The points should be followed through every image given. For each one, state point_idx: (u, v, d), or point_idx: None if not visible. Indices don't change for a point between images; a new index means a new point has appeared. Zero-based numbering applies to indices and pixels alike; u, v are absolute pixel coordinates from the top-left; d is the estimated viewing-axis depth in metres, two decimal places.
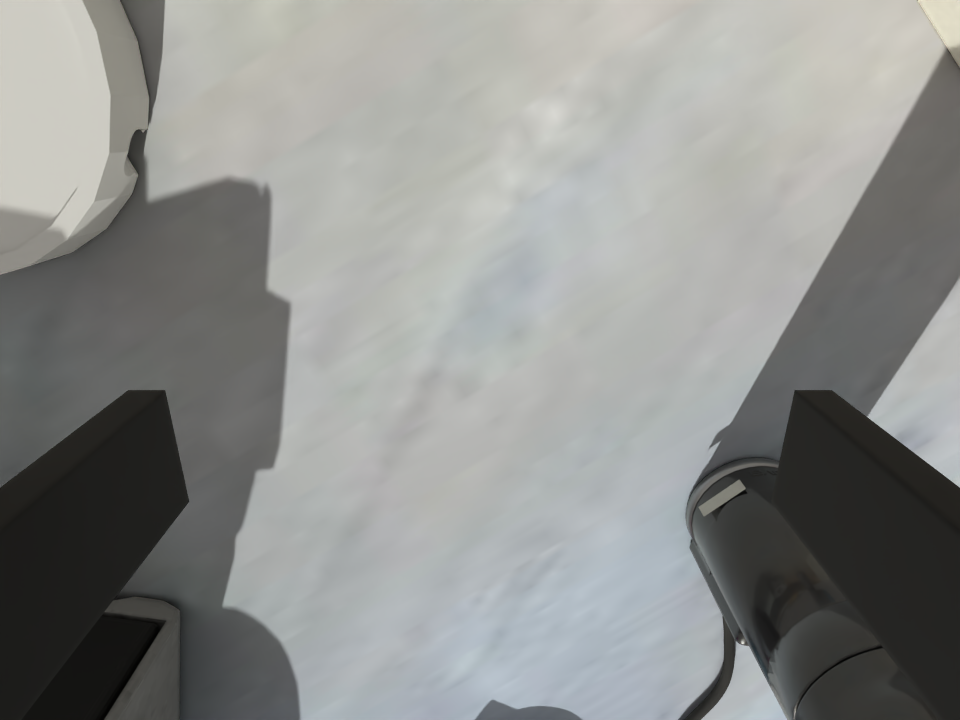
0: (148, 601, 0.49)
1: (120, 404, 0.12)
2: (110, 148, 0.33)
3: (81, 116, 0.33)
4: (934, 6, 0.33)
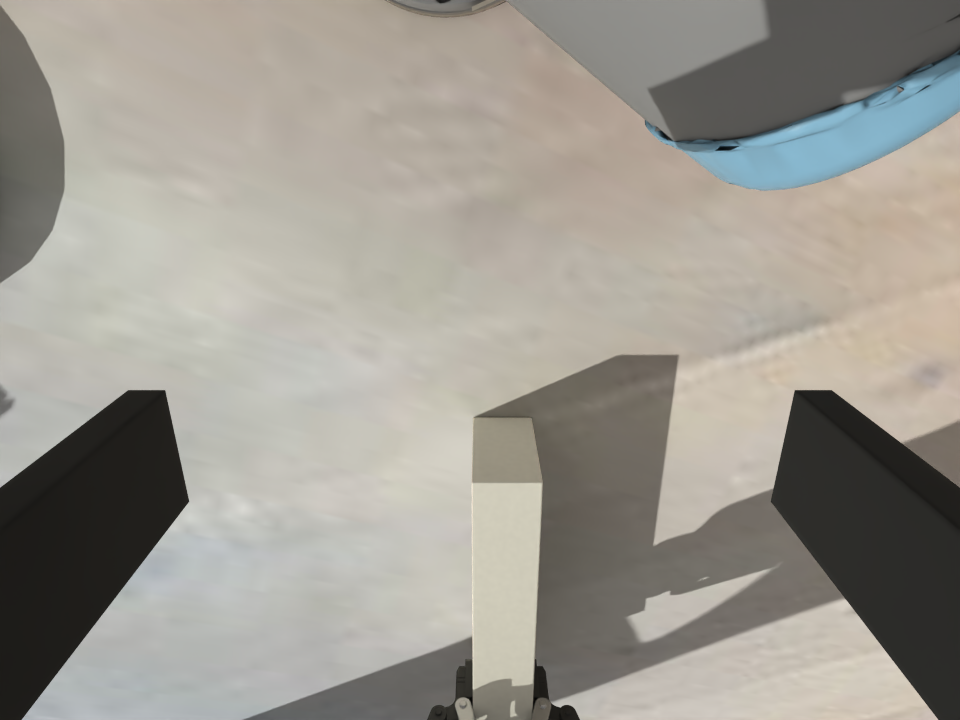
0: None
1: (119, 404, 0.12)
2: None
3: None
4: None
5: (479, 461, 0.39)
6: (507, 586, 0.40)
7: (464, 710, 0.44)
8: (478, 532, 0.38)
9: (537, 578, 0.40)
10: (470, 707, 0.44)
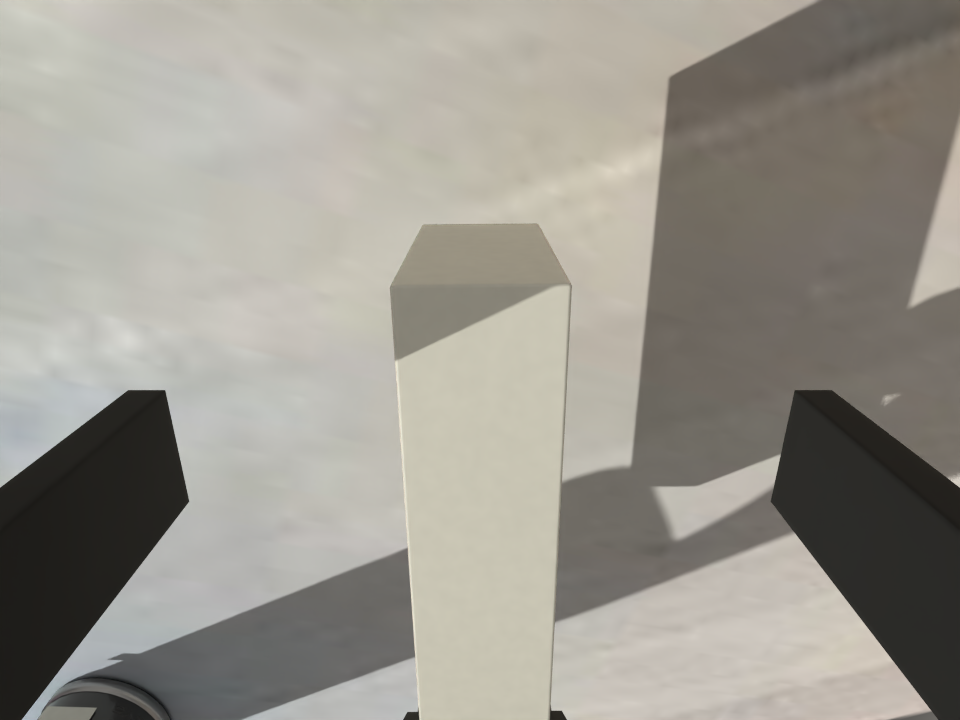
0: None
1: (119, 404, 0.12)
2: None
3: None
4: None
5: (419, 261, 0.17)
6: (487, 554, 0.17)
7: None
8: (414, 423, 0.16)
9: (556, 535, 0.17)
10: None
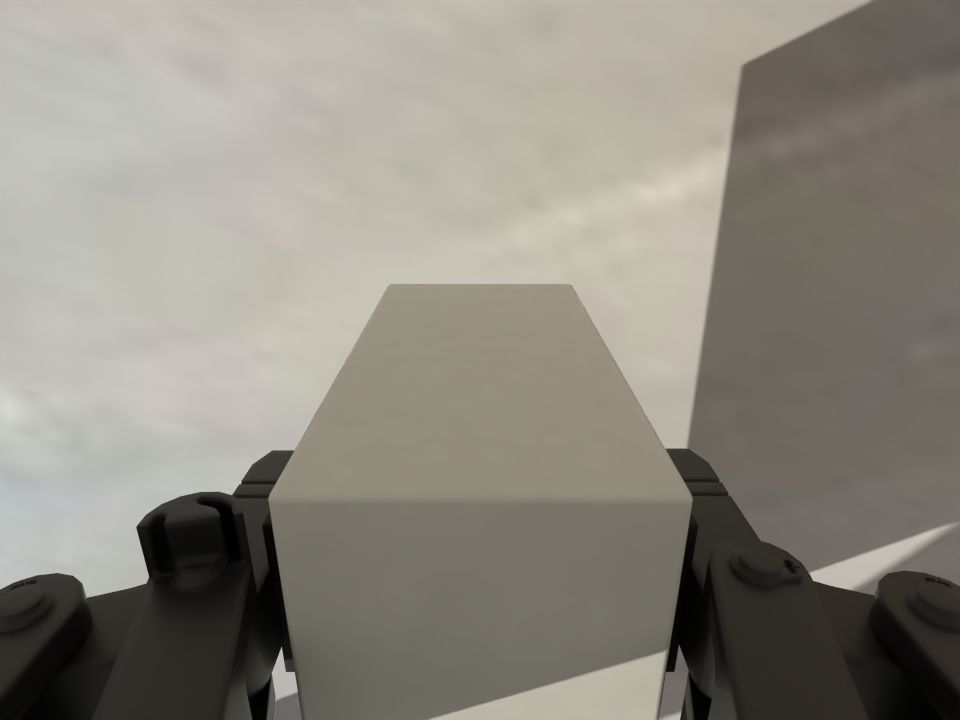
0: None
1: None
2: None
3: None
4: None
5: (359, 394, 0.08)
6: None
7: None
8: None
9: None
10: None
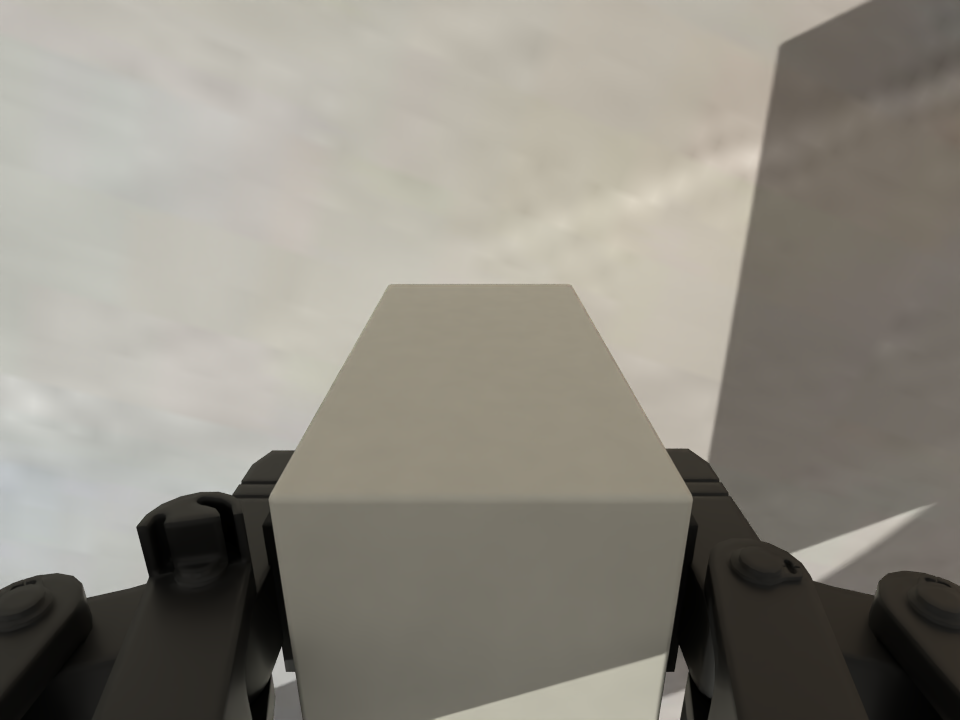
0: None
1: None
2: None
3: None
4: None
5: (359, 394, 0.08)
6: None
7: None
8: None
9: None
10: None
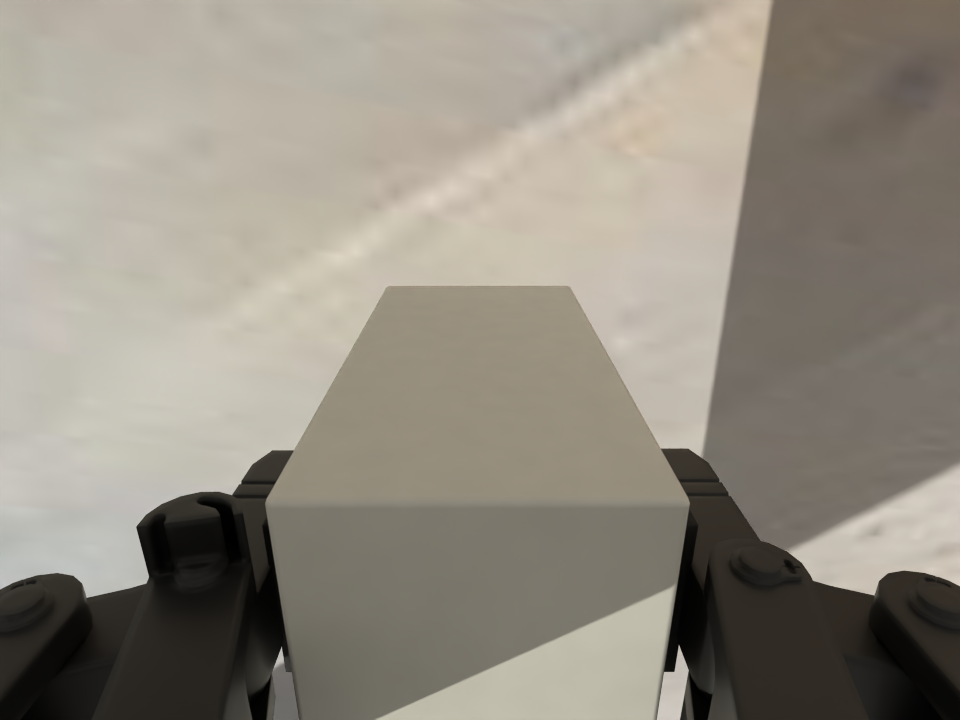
0: None
1: None
2: None
3: None
4: None
5: (357, 397, 0.08)
6: None
7: None
8: None
9: None
10: None
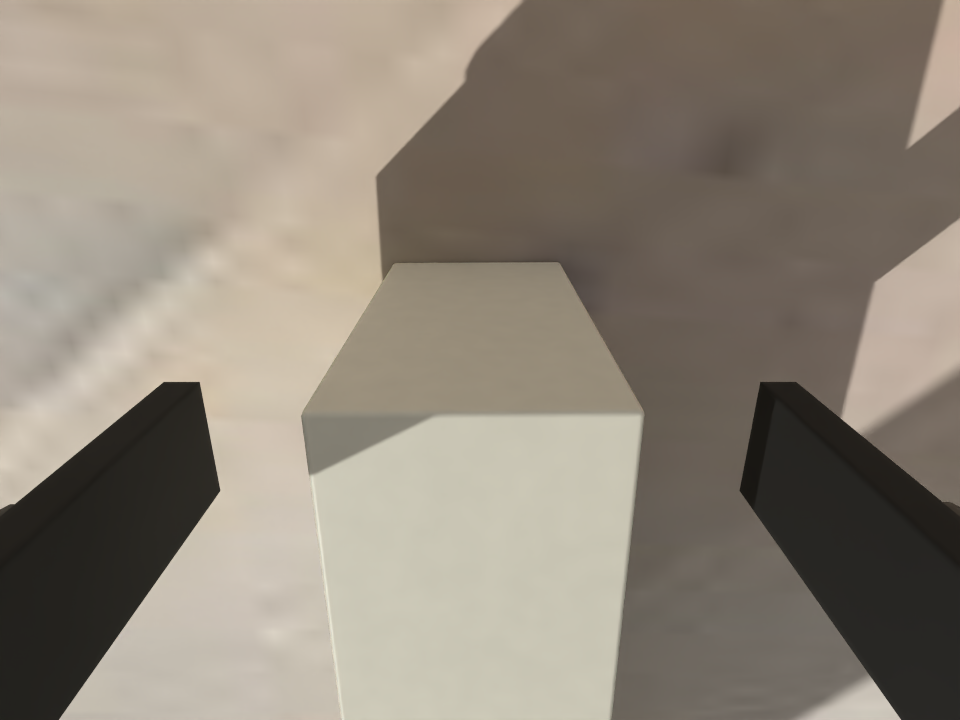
0: None
1: (157, 396, 0.12)
2: None
3: None
4: None
5: (371, 344, 0.10)
6: None
7: None
8: (356, 638, 0.09)
9: None
10: None
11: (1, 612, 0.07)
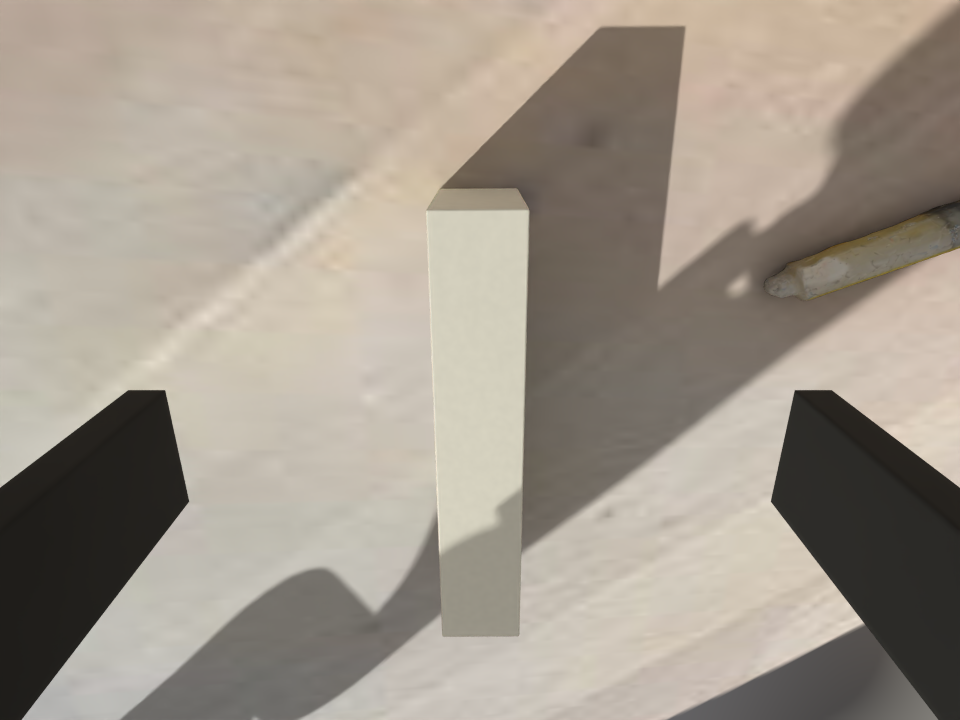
0: None
1: (120, 404, 0.12)
2: None
3: None
4: None
5: (441, 202, 0.28)
6: (481, 384, 0.28)
7: None
8: (438, 295, 0.27)
9: (524, 371, 0.28)
10: None
11: None
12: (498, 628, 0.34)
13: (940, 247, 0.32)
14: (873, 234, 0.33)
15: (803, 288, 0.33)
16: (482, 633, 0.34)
